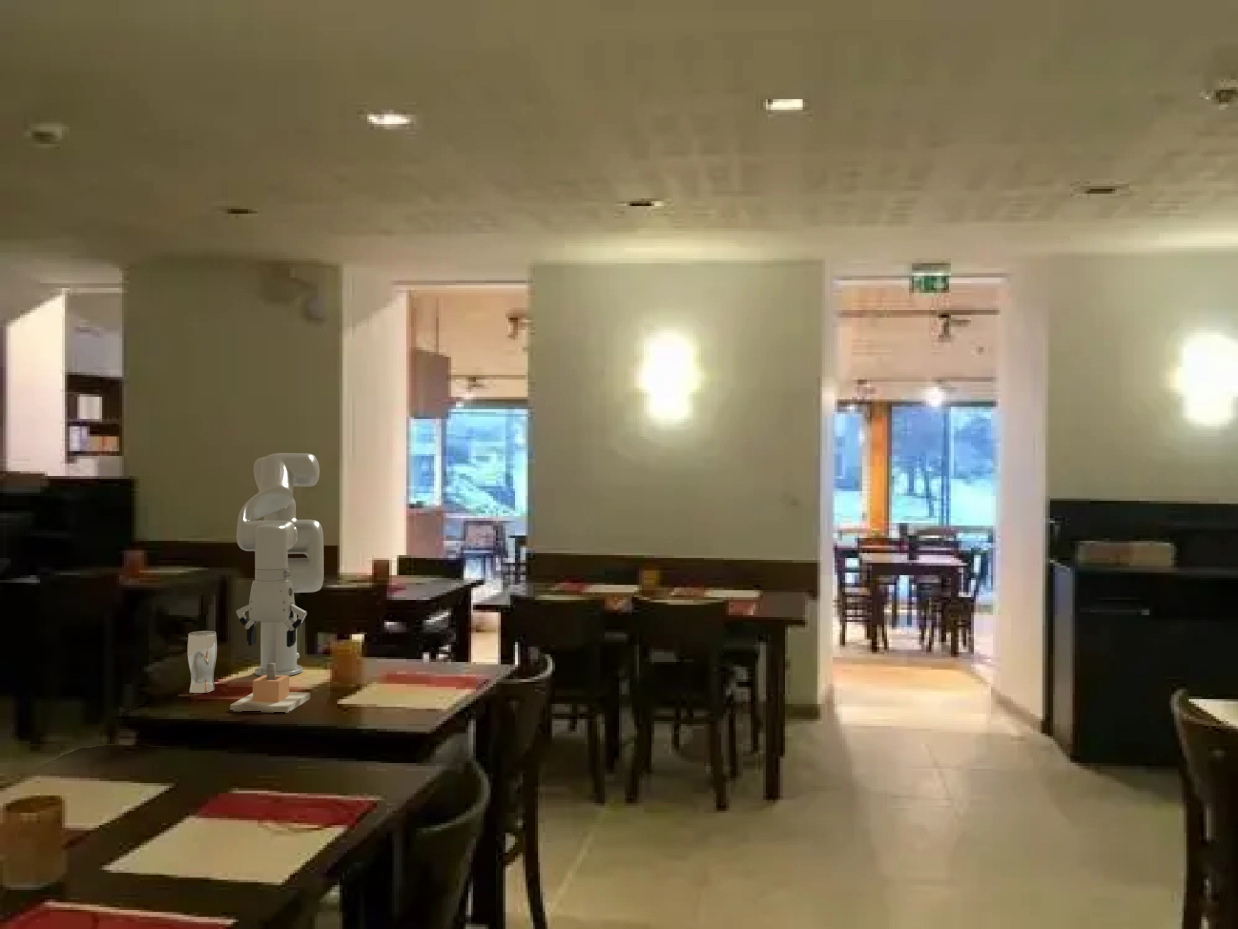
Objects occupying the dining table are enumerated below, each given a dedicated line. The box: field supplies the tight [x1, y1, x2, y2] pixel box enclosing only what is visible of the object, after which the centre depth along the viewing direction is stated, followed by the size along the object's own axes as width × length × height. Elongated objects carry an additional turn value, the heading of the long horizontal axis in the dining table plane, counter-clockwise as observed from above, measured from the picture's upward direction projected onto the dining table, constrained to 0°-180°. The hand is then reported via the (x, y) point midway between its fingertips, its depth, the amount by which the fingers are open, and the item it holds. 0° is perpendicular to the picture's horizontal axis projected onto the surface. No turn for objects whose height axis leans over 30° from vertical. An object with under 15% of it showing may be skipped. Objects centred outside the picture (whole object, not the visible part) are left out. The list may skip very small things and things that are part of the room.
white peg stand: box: [229, 663, 311, 714], centre depth 255 cm, size 14×14×10 cm
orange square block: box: [252, 675, 290, 702], centre depth 255 cm, size 6×6×5 cm
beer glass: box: [187, 630, 218, 694], centre depth 268 cm, size 7×7×15 cm
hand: (271, 645), depth 256 cm, fingers open, 9 cm apart
